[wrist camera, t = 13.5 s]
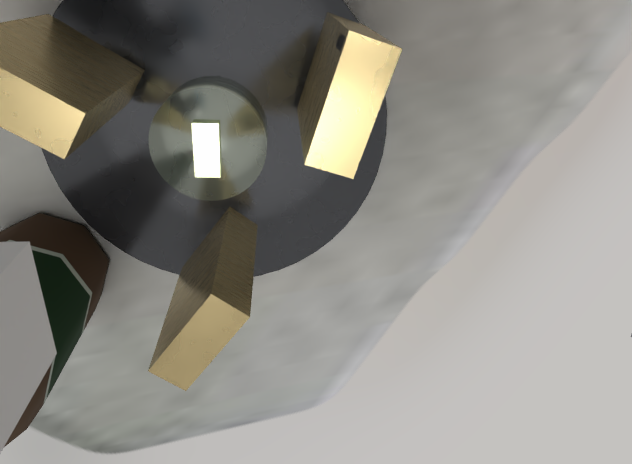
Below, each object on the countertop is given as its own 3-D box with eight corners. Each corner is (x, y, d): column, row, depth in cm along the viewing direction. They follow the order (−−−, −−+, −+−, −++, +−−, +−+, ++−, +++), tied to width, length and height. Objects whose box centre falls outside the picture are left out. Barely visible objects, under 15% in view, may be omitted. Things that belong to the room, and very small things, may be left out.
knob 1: (144, 70, 31) (85, 113, 21) (128, 103, 32) (64, 159, 22) (48, 14, 29) (-62, 34, 20) (33, 50, 30) (-80, 86, 21)
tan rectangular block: (229, 206, 35) (211, 293, 25) (257, 225, 35) (249, 316, 26) (181, 267, 36) (148, 371, 27) (209, 284, 37) (185, 390, 28)
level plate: (7, -76, 28) (-48, -86, 24) (400, -57, 30) (423, -63, 25) (69, 271, 38) (38, 315, 33) (369, 272, 39) (382, 314, 34)
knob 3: (331, 119, 33) (353, 178, 23) (297, 108, 32) (304, 164, 23) (364, 25, 31) (402, 48, 21) (327, 12, 30) (349, 30, 21)
